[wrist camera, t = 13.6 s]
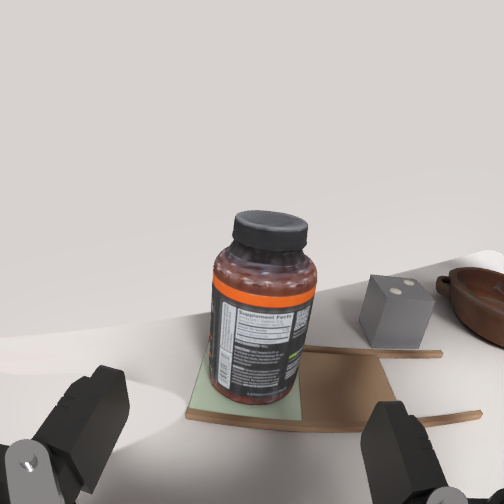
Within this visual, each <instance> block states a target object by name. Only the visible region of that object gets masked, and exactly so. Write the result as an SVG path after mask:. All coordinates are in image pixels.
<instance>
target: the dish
mask: <svg viewBox="0 0 504 504" xmlns="http://www.w3.org/2000/svg"><path fill="white" fill-rule="evenodd" d="M436 290H437V292H438V293H439V294H440V295H442V296H444V297H445V298H447V299H448V300H449V301H450V302H451V303H452V305H453V308H454V311H455V313H456V315H457V316H458V318H459V319H460V320H461V321H462V322H463V323H464V324H465V325H466V326H467V327H469V328H470V329H471V330H473V331H474V332H475V333H477V334H478V335H480V336H482V337H483V338H485V339H487V340H489V341H491V342H493V343H495V344H497V345H500V346H503V347H504V274H502V273H499V272H496V271H492V270H488V269H483V268H475V267H465V268H456V269H453V270H451V271H450V272H449V276H440V277H438V278H437V281H436Z"/></svg>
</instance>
